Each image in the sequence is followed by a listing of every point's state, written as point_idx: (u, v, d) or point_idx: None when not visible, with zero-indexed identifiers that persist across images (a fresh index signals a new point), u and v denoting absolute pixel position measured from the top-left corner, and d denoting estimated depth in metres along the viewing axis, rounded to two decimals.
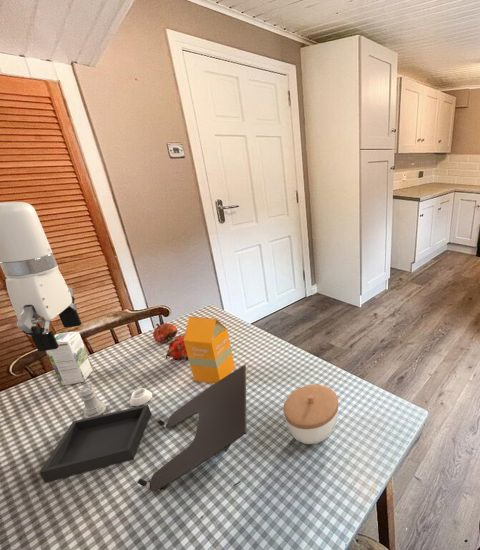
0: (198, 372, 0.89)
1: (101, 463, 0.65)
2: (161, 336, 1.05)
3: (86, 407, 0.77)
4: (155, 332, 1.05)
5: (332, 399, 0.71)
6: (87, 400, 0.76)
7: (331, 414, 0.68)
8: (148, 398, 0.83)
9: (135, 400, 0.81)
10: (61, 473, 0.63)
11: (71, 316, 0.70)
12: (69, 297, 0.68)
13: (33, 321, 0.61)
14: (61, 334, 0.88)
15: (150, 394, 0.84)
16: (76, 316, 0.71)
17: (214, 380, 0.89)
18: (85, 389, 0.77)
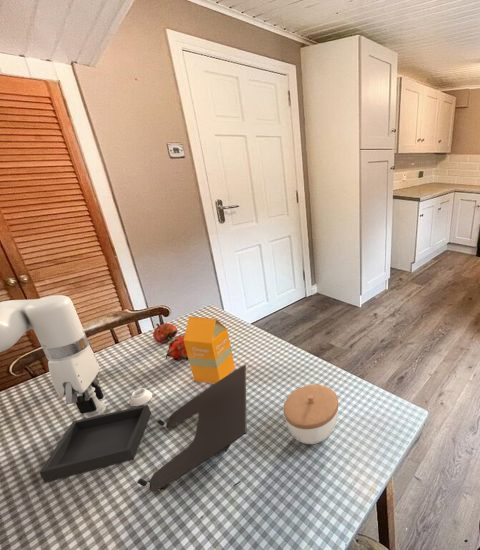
0: (198, 372, 0.89)
1: (101, 463, 0.65)
2: (161, 336, 1.05)
3: None
4: (155, 332, 1.05)
5: (332, 399, 0.71)
6: None
7: (331, 414, 0.68)
8: (148, 398, 0.83)
9: (135, 400, 0.81)
10: (61, 473, 0.63)
11: (95, 392, 0.79)
12: (97, 366, 0.79)
13: (74, 393, 0.73)
14: None
15: (150, 394, 0.84)
16: (100, 391, 0.80)
17: (214, 380, 0.89)
18: None
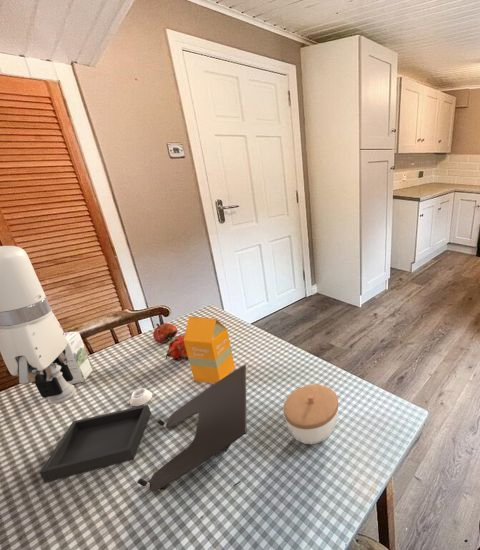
0: (198, 372, 0.89)
1: (101, 463, 0.65)
2: (161, 336, 1.05)
3: None
4: (155, 332, 1.05)
5: (332, 399, 0.71)
6: None
7: (331, 414, 0.68)
8: (148, 398, 0.83)
9: (135, 400, 0.81)
10: (61, 473, 0.63)
11: (62, 371, 0.65)
12: (64, 340, 0.64)
13: (32, 371, 0.59)
14: None
15: (150, 394, 0.84)
16: (68, 371, 0.65)
17: (214, 380, 0.89)
18: None
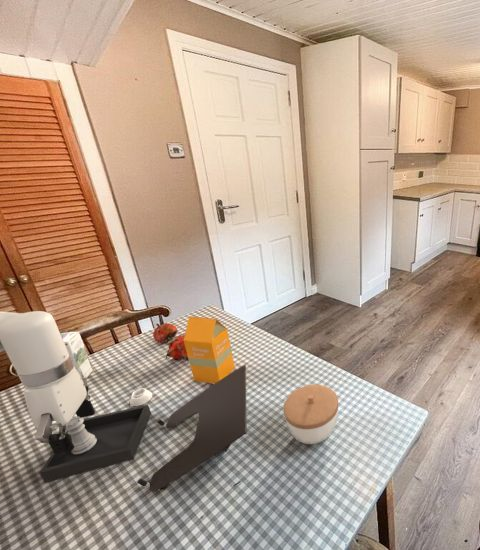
0: (198, 372, 0.89)
1: (101, 463, 0.65)
2: (161, 336, 1.05)
3: (73, 442, 0.67)
4: (155, 332, 1.05)
5: (332, 399, 0.71)
6: (74, 434, 0.67)
7: (331, 414, 0.68)
8: (148, 398, 0.83)
9: (135, 400, 0.81)
10: (61, 473, 0.63)
11: (85, 407, 0.71)
12: (84, 391, 0.69)
13: (50, 427, 0.61)
14: (61, 334, 0.88)
15: (150, 394, 0.84)
16: (90, 407, 0.71)
17: (214, 380, 0.89)
18: (72, 421, 0.67)
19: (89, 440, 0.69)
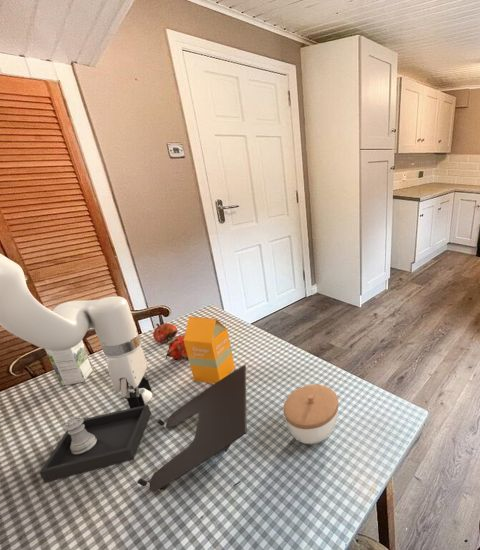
0: (198, 372, 0.89)
1: (101, 463, 0.65)
2: (161, 336, 1.05)
3: (73, 442, 0.67)
4: (155, 332, 1.05)
5: (332, 399, 0.71)
6: (74, 434, 0.67)
7: (331, 414, 0.68)
8: (148, 398, 0.83)
9: None
10: (61, 473, 0.63)
11: (144, 385, 0.85)
12: (145, 363, 0.84)
13: None
14: None
15: (150, 394, 0.84)
16: (148, 385, 0.85)
17: (214, 380, 0.89)
18: (72, 421, 0.67)
19: (89, 440, 0.69)
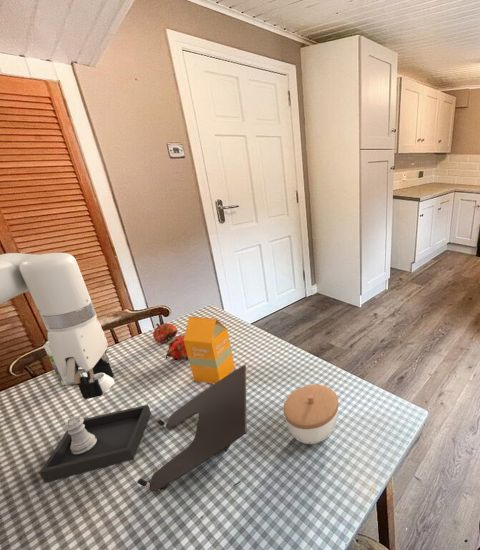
0: (198, 372, 0.89)
1: (101, 463, 0.65)
2: (161, 336, 1.05)
3: (73, 442, 0.67)
4: (155, 332, 1.05)
5: (332, 399, 0.71)
6: (74, 434, 0.67)
7: (331, 414, 0.68)
8: (108, 385, 0.66)
9: None
10: (61, 473, 0.63)
11: (104, 369, 0.68)
12: (105, 342, 0.67)
13: (77, 372, 0.61)
14: None
15: (111, 380, 0.67)
16: (109, 369, 0.69)
17: (214, 380, 0.89)
18: (72, 421, 0.67)
19: (89, 440, 0.69)
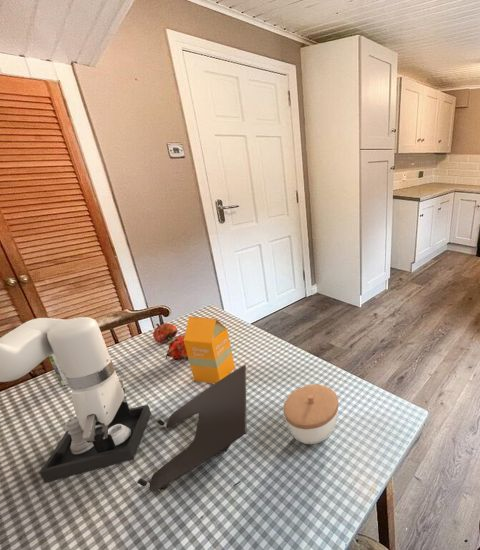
0: (198, 372, 0.89)
1: (101, 463, 0.65)
2: (161, 336, 1.05)
3: (73, 442, 0.67)
4: (155, 332, 1.05)
5: (332, 399, 0.71)
6: (74, 434, 0.67)
7: (331, 414, 0.68)
8: (126, 436, 0.71)
9: None
10: (61, 473, 0.63)
11: (122, 408, 0.74)
12: (122, 393, 0.72)
13: None
14: None
15: (128, 431, 0.72)
16: (127, 408, 0.74)
17: (214, 380, 0.89)
18: (72, 421, 0.67)
19: None
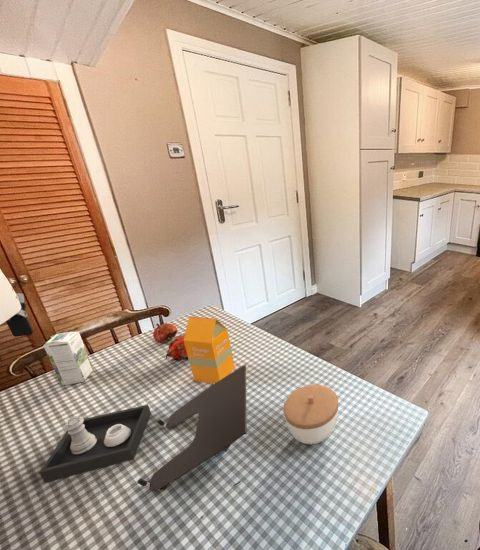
0: (198, 372, 0.89)
1: (101, 463, 0.65)
2: (161, 336, 1.05)
3: (73, 442, 0.67)
4: (155, 332, 1.05)
5: (332, 399, 0.71)
6: (74, 434, 0.67)
7: (331, 414, 0.68)
8: (126, 436, 0.71)
9: (110, 439, 0.69)
10: (61, 473, 0.63)
11: (21, 324, 0.65)
12: (17, 304, 0.63)
13: None
14: (61, 334, 0.88)
15: (128, 431, 0.72)
16: (27, 325, 0.66)
17: (214, 380, 0.89)
18: (72, 421, 0.67)
19: (89, 440, 0.69)
